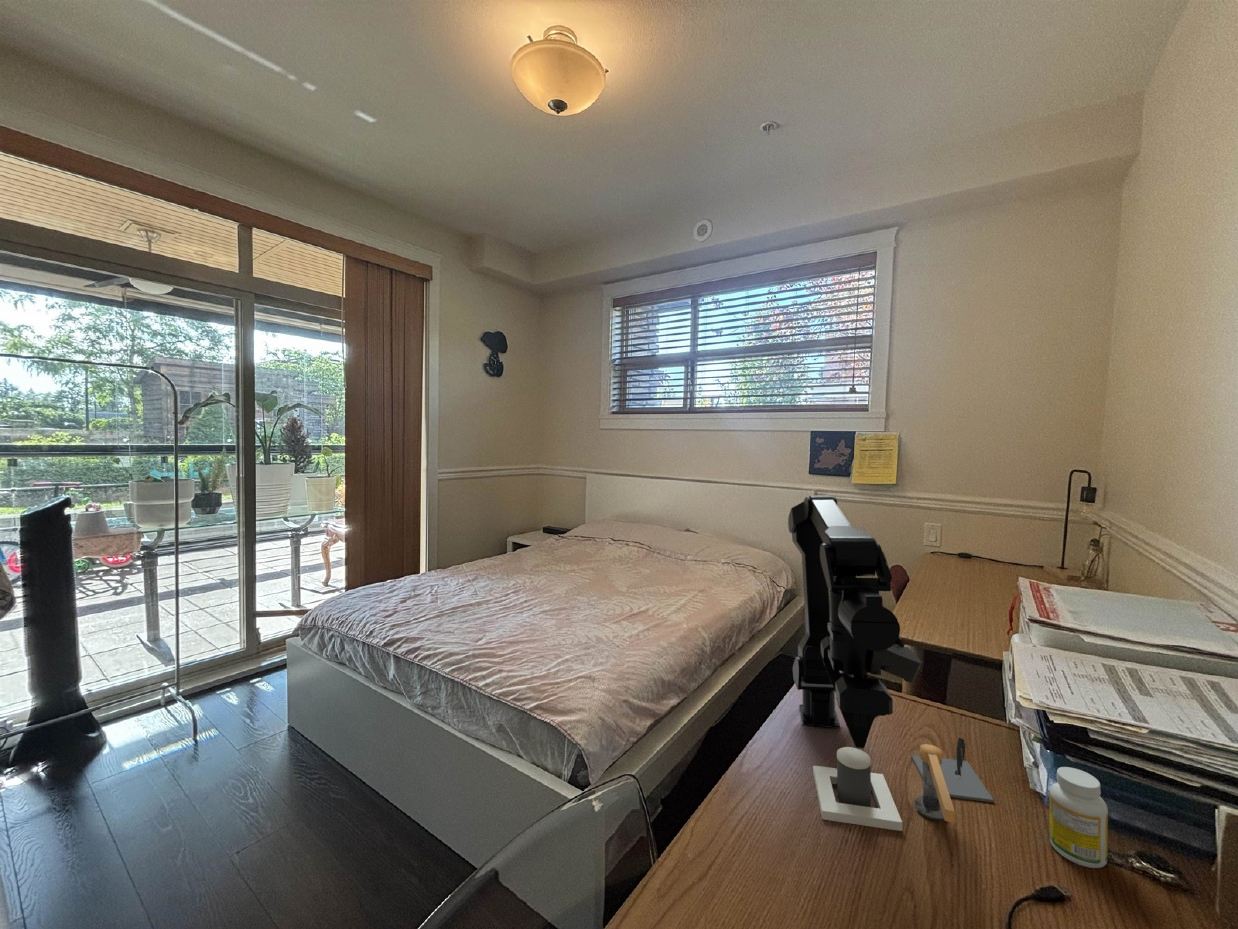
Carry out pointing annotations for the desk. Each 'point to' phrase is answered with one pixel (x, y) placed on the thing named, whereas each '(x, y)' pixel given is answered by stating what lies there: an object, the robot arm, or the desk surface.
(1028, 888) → the desk surface
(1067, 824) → the supplement bottle
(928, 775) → the post
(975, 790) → the mat
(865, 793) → the plug
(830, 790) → the socket block
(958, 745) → the black pen
